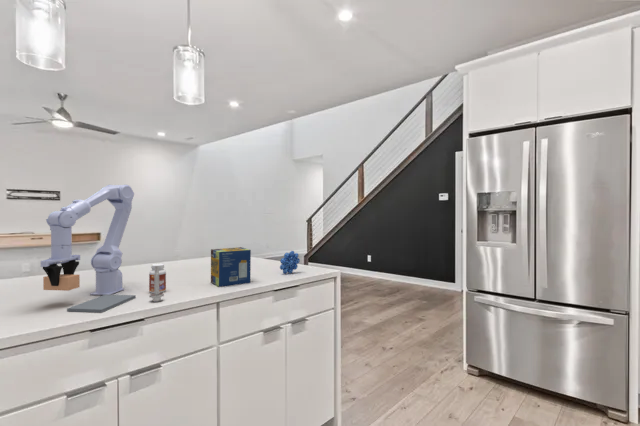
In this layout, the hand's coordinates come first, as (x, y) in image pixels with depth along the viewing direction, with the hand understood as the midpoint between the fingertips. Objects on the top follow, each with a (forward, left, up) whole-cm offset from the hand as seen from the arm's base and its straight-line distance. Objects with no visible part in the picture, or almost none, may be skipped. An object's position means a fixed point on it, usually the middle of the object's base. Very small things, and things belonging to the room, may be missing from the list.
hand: (61, 283), depth 118 cm
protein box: (-40, +47, -8) cm, 62 cm away
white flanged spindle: (-8, +30, -8) cm, 32 cm away
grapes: (-65, +70, -8) cm, 96 cm away
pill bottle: (-21, +23, -8) cm, 32 cm away
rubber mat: (-2, +14, -7) cm, 16 cm away
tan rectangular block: (0, 0, -2) cm, 2 cm away
